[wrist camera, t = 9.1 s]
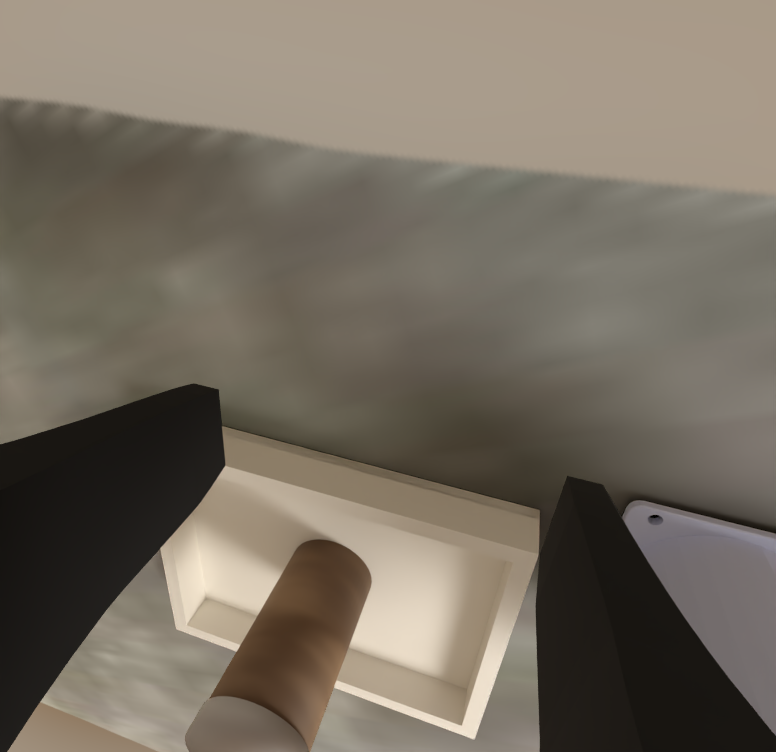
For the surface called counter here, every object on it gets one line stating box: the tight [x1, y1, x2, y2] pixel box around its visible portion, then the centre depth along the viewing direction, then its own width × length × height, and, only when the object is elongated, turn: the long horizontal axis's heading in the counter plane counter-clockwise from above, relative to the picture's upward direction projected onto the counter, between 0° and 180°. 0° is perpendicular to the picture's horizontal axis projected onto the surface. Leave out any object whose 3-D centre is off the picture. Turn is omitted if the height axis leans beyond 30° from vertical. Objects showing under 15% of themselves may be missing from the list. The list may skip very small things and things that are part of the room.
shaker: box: [185, 539, 372, 752], centre depth 22 cm, size 5×5×9 cm
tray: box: [160, 426, 540, 739], centre depth 25 cm, size 18×14×2 cm
